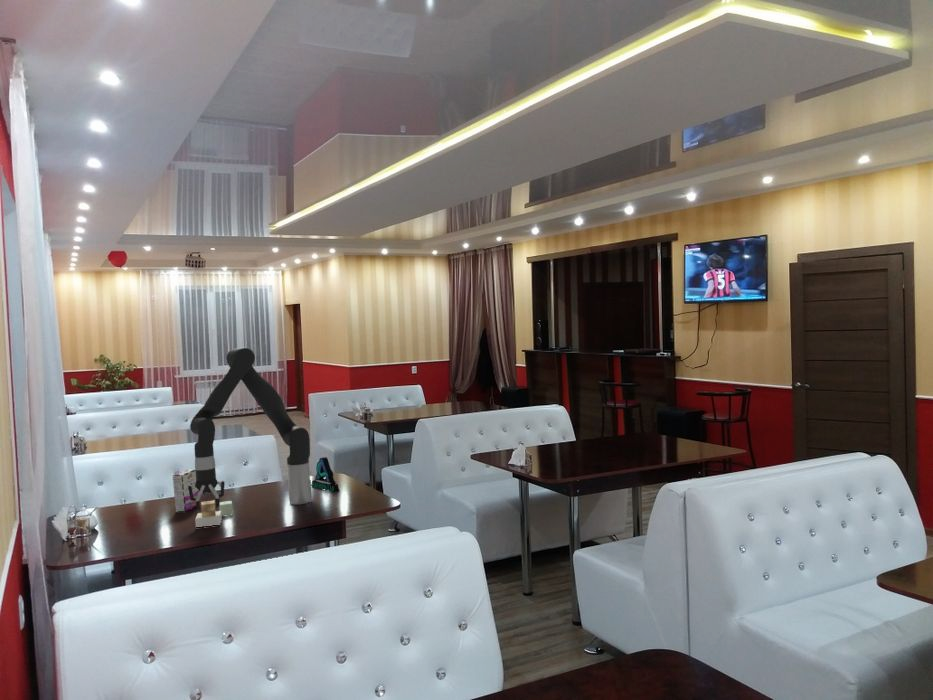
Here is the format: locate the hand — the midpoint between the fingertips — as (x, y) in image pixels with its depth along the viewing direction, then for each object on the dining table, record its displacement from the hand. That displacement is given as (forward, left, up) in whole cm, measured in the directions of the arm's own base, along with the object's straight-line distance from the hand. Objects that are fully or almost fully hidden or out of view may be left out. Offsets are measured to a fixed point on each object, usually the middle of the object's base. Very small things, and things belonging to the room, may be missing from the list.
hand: (208, 508), depth 281 cm
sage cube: (-7, -11, -6) cm, 14 cm away
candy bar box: (+8, -30, -6) cm, 32 cm away
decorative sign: (-52, -32, -6) cm, 61 cm away
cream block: (0, 0, -6) cm, 6 cm away
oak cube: (0, 0, -2) cm, 3 cm away
